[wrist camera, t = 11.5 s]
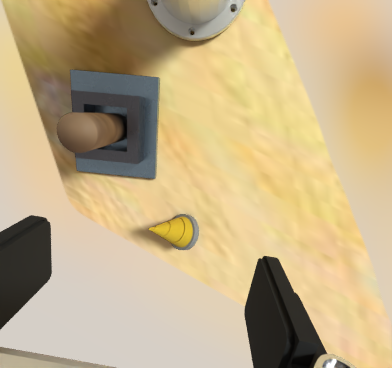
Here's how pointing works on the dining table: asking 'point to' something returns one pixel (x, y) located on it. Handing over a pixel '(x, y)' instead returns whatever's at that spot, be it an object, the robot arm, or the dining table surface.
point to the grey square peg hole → (131, 110)
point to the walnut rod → (90, 130)
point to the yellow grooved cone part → (179, 231)
